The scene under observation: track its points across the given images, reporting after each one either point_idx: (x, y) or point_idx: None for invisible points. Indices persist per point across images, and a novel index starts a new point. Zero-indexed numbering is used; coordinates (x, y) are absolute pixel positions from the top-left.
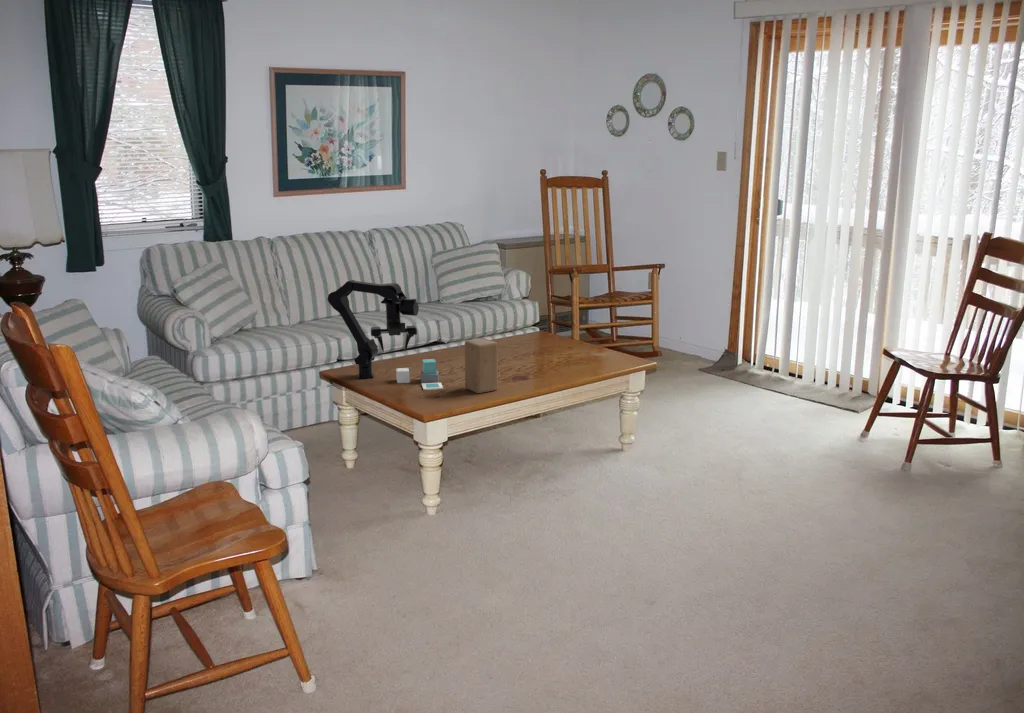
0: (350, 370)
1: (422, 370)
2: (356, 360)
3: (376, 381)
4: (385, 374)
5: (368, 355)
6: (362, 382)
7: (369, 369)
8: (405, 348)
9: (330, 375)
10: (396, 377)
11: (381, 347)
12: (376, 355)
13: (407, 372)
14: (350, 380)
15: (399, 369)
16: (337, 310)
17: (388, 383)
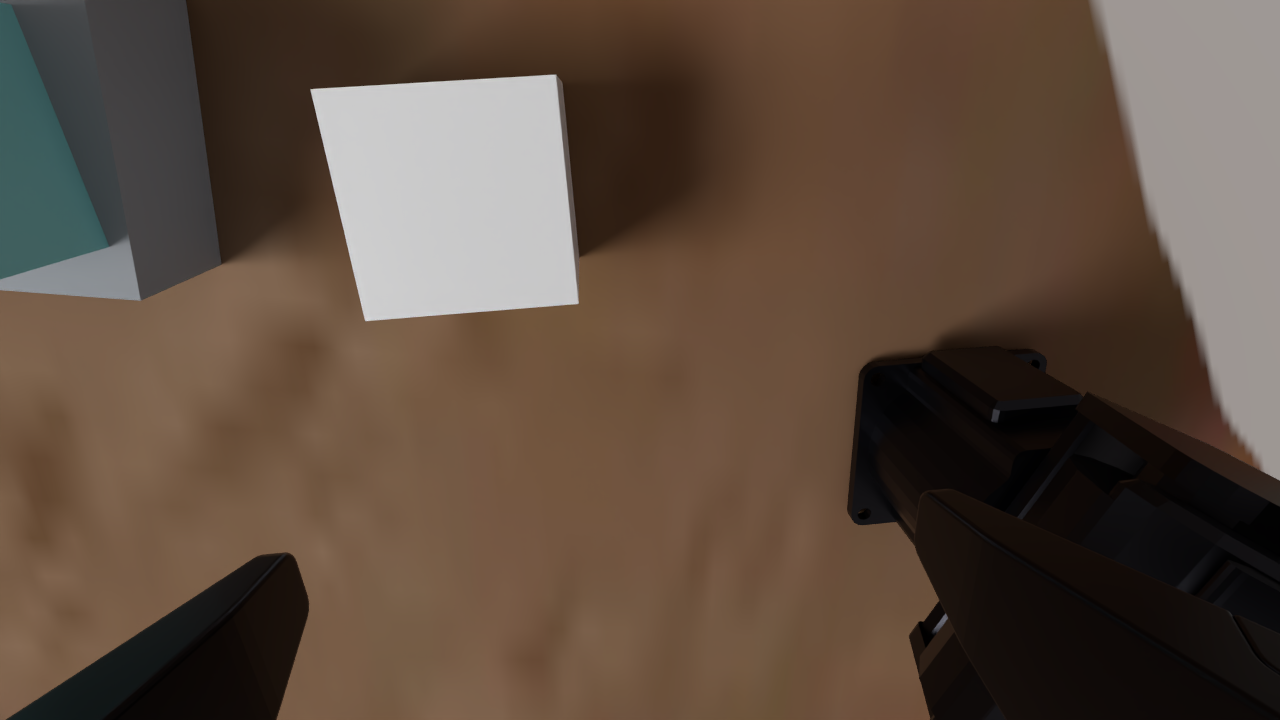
0: None
1: (127, 296)
2: (1268, 476)
3: (842, 209)
4: (708, 498)
5: (1200, 463)
6: (1020, 182)
7: (962, 413)
8: (235, 594)
9: None
10: (578, 255)
11: (1084, 548)
12: (931, 645)
13: (358, 87)
14: (1132, 292)
15: (517, 231)
16: None
17: (691, 81)
